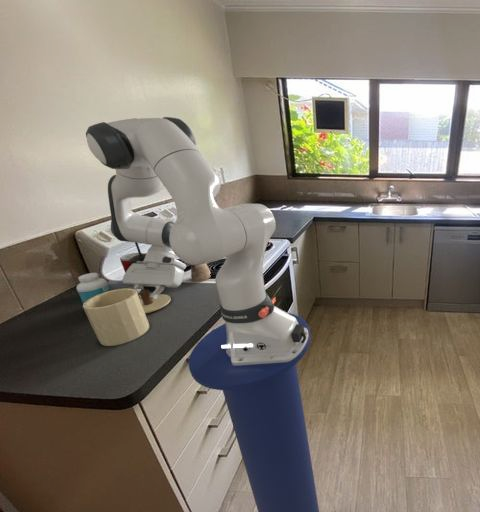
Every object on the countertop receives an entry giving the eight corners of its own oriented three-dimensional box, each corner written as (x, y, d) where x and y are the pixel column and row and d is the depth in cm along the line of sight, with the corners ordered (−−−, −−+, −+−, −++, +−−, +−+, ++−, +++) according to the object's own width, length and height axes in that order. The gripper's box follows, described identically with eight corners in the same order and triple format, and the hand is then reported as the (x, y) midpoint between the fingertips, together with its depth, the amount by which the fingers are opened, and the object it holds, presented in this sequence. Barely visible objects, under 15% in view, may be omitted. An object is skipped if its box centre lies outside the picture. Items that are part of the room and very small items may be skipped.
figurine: (196, 274, 126) (189, 249, 121) (213, 273, 127) (207, 248, 122) (189, 282, 119) (181, 255, 115) (207, 280, 120) (200, 254, 116)
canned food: (139, 275, 125) (130, 252, 121) (156, 275, 125) (148, 252, 121) (123, 283, 118) (114, 259, 114) (142, 284, 118) (133, 259, 114)
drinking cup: (139, 288, 114) (121, 241, 107) (162, 282, 119) (146, 236, 112) (142, 295, 109) (123, 246, 102) (166, 288, 114) (150, 241, 107)
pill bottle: (118, 310, 100) (103, 275, 95) (88, 319, 95) (71, 282, 90) (116, 302, 105) (102, 268, 100) (88, 310, 100) (72, 275, 95)
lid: (179, 297, 107) (175, 283, 105) (150, 317, 96) (144, 301, 93) (148, 296, 109) (143, 281, 106) (116, 315, 97) (109, 299, 95)
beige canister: (158, 323, 93) (146, 289, 88) (125, 347, 82) (109, 309, 77) (126, 321, 94) (112, 287, 89) (89, 344, 83) (70, 307, 78)
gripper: (126, 257, 104) (109, 294, 98) (178, 259, 102) (164, 297, 96) (141, 263, 109) (126, 299, 104) (190, 265, 107) (178, 301, 102)
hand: (144, 298), depth 100 cm, fingers open, 5 cm apart
